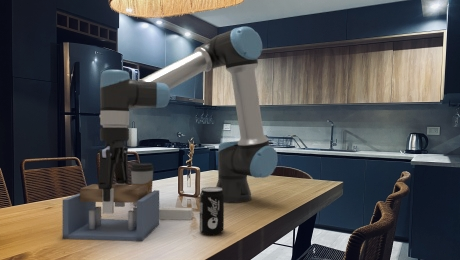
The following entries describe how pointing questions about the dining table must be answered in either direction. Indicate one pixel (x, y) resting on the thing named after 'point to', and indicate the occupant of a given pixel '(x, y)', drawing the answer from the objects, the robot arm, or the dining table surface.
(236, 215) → the dining table surface
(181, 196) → the dining table surface
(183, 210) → the block
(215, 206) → the beverage can
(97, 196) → the walnut board
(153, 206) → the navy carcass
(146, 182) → the coffee cup
